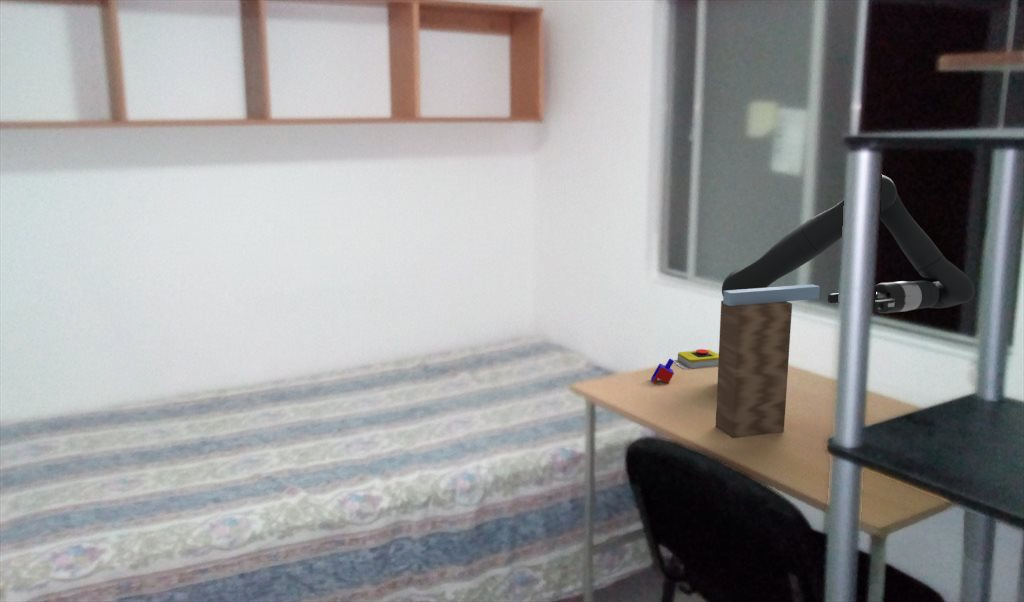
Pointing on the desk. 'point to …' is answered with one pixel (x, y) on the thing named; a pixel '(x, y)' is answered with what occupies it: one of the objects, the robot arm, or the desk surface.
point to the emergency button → (697, 359)
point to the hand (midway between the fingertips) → (839, 302)
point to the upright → (753, 368)
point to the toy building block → (663, 372)
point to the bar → (771, 294)
